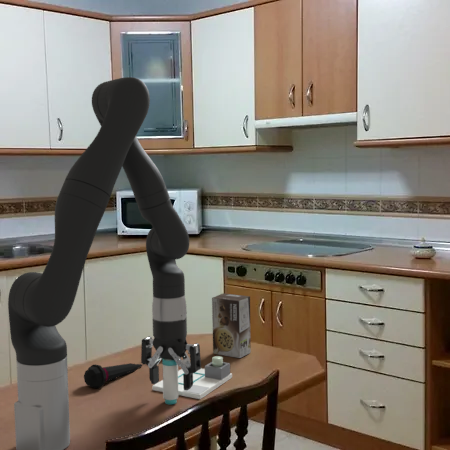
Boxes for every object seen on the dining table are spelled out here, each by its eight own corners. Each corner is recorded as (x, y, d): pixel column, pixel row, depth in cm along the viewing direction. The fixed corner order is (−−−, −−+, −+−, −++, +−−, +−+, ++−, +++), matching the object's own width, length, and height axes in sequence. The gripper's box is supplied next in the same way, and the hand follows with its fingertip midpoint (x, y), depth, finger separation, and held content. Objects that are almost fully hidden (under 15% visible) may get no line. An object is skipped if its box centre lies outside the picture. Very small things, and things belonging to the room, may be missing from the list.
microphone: (135, 377, 169) (81, 392, 152) (131, 356, 170) (77, 368, 153) (151, 374, 166) (98, 389, 149) (147, 352, 167) (93, 364, 150)
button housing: (221, 380, 155) (221, 368, 154) (204, 377, 157) (204, 366, 157) (230, 374, 159) (230, 363, 159) (213, 371, 161) (213, 360, 161)
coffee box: (251, 352, 179) (251, 296, 178) (239, 358, 174) (239, 300, 172) (224, 347, 184) (223, 292, 182) (211, 353, 179) (211, 296, 177)
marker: (173, 406, 141) (172, 361, 140) (160, 403, 143) (159, 359, 142) (181, 400, 144) (181, 357, 143) (168, 398, 146) (167, 354, 145)
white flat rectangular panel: (200, 399, 145) (200, 394, 145) (152, 389, 151) (152, 384, 151) (232, 377, 160) (232, 372, 159) (187, 369, 165) (187, 365, 165)
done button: (219, 369, 156) (219, 360, 156) (210, 368, 157) (210, 358, 157) (224, 366, 158) (224, 357, 158) (215, 365, 159) (215, 355, 159)
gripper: (133, 316, 142) (135, 386, 144) (188, 323, 135) (190, 397, 137) (152, 308, 148) (153, 376, 150) (205, 314, 142) (207, 385, 144)
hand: (171, 386), depth 144 cm, fingers open, 8 cm apart
